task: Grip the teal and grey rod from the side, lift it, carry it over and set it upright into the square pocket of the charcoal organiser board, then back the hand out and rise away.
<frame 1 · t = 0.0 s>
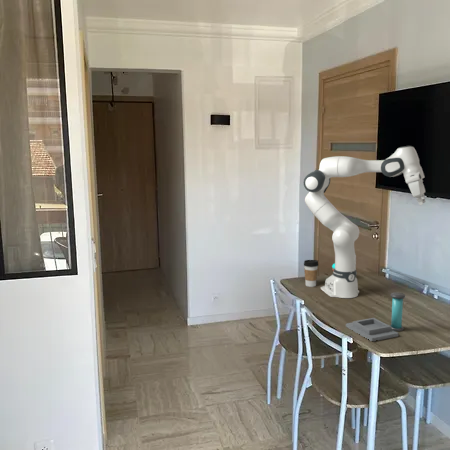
hand: (422, 203, 232), 52 cm above the table, tool tilted 20°, fingers open, 8 cm apart
organiser board: (371, 331, 207), on the table
teal and grey rod: (396, 328, 210), on the table
coffee cup: (310, 285, 276), on the table
donuts: (340, 280, 285), on the table
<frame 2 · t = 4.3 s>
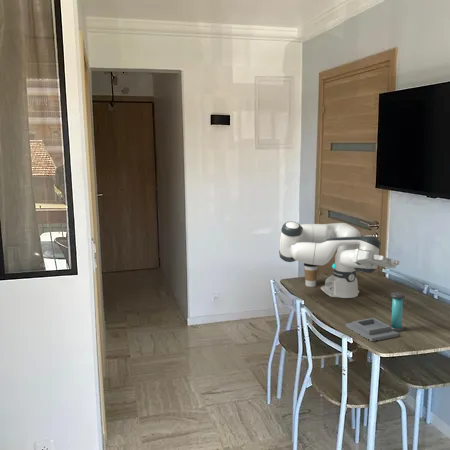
hand: (391, 260, 208), 31 cm above the table, tool horizontal, fingers open, 8 cm apart
nothing on the table moved.
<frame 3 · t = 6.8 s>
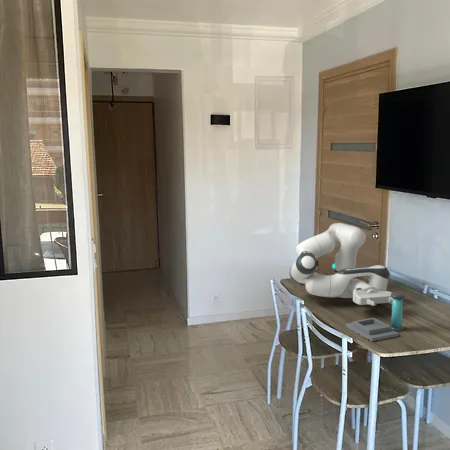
hand: (384, 303, 218), 8 cm above the table, tool horizontal, fingers open, 8 cm apart
nothing on the table moved.
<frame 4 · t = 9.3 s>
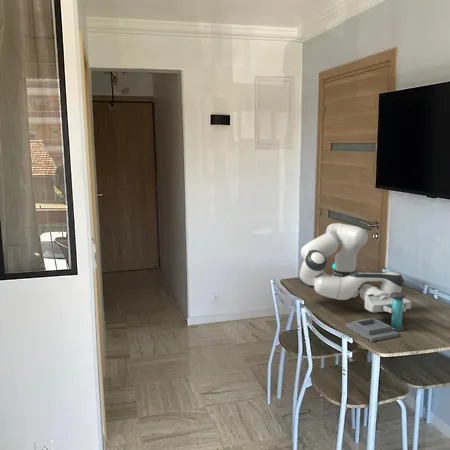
hand: (398, 310, 207), 9 cm above the table, tool horizontal, fingers closed on teal and grey rod, 4 cm apart
teal and grey rod: (396, 328, 210), on the table, touching gripper
everything else where it was.
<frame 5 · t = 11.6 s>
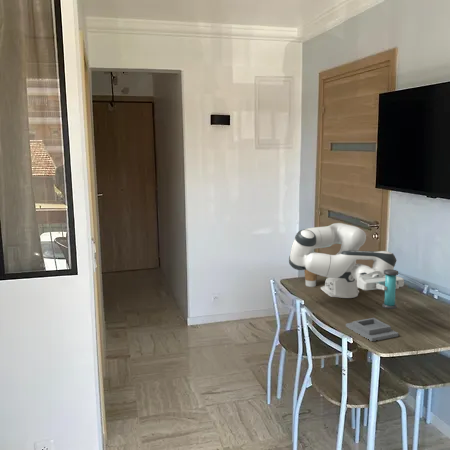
hand: (391, 287, 204), 20 cm above the table, tool horizontal, fingers closed on teal and grey rod, 4 cm apart
teal and grey rod: (389, 306, 206), point 11 cm above the table, touching gripper
everything else where it was.
when the fingers open (12 cm above the table, at t = 13.9 s): teal and grey rod drops 1 cm, resting on organiser board.
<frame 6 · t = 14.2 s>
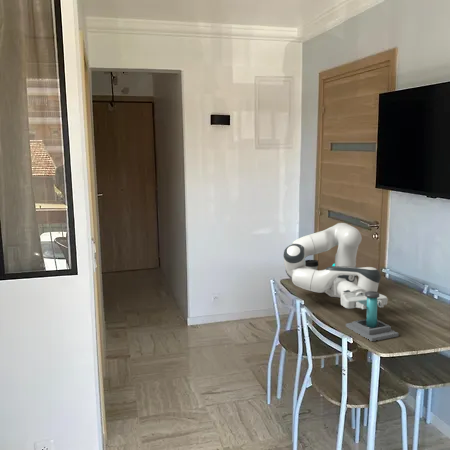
hand: (373, 306, 204), 12 cm above the table, tool horizontal, fingers open, 7 cm apart
teal and grey rod: (371, 327, 207), point 2 cm above the table, touching organiser board
everything else where it was.
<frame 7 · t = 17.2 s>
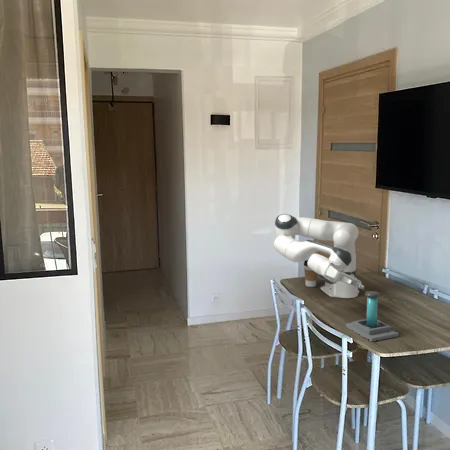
hand: (357, 285, 208), 20 cm above the table, tool horizontal, fingers open, 8 cm apart
nothing on the table moved.
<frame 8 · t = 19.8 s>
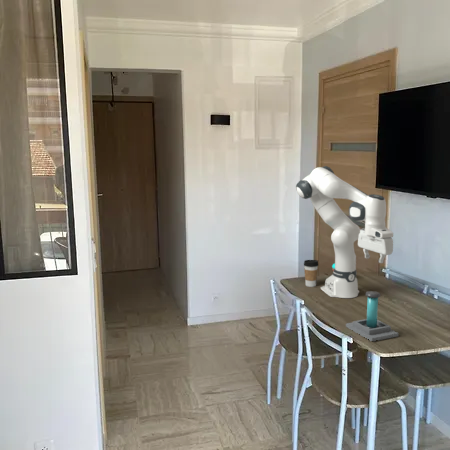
hand: (373, 260, 214), 29 cm above the table, tool pointing down, fingers open, 8 cm apart
nothing on the table moved.
at the end: teal and grey rod 0.0 cm off-centre on the organiser board, point 1.5 cm above the organiser board's base; teal and grey rod tilted 1°; the gripper is holding nothing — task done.
